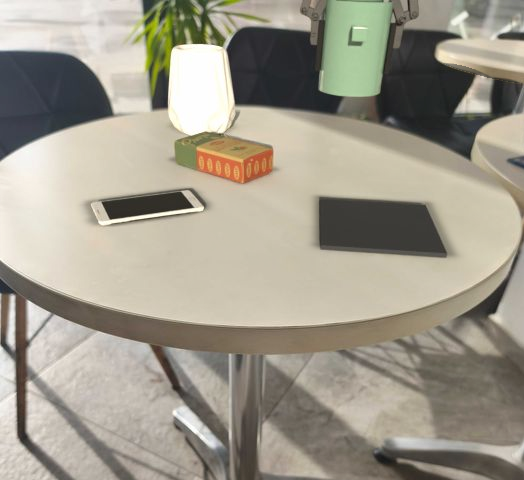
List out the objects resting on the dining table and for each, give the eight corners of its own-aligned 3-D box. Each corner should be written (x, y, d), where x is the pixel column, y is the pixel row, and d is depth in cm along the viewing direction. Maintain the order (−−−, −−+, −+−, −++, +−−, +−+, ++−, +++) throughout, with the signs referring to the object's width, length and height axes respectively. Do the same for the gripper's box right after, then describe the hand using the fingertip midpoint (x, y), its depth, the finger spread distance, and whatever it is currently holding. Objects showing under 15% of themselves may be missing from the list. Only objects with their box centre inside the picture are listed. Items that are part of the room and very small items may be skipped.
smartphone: (205, 207, 71) (99, 222, 66) (205, 211, 72) (99, 226, 67) (189, 189, 77) (90, 202, 72) (189, 193, 77) (90, 206, 72)
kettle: (385, 103, 73) (405, -20, 64) (317, 100, 74) (328, -22, 65) (375, 81, 87) (391, -23, 78) (318, 78, 87) (327, -25, 78)
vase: (182, 118, 113) (176, 40, 103) (242, 123, 111) (242, 45, 101) (159, 135, 102) (151, 50, 92) (226, 141, 100) (224, 54, 90)
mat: (424, 208, 75) (425, 204, 75) (446, 257, 63) (447, 253, 62) (319, 202, 76) (320, 198, 76) (320, 249, 64) (320, 245, 63)
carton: (242, 185, 81) (242, 158, 78) (174, 163, 88) (171, 138, 86) (273, 172, 86) (274, 147, 83) (206, 153, 94) (205, 129, 91)
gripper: (456, -117, 67) (420, 70, 81) (290, -120, 68) (282, 64, 82) (469, -124, 61) (427, 78, 75) (286, -128, 62) (278, 71, 76)
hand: (351, 71), depth 78 cm, fingers closed on kettle, 10 cm apart
